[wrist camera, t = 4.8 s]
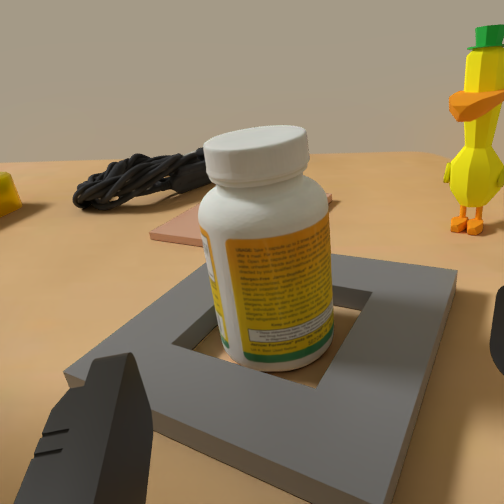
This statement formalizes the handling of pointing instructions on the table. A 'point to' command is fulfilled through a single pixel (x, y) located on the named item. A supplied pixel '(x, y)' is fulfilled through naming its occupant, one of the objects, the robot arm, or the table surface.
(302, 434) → the socket block
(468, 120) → the toy figure
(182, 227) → the terracotta tile
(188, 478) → the table surface
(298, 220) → the supplement bottle
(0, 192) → the element tile
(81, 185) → the cable
